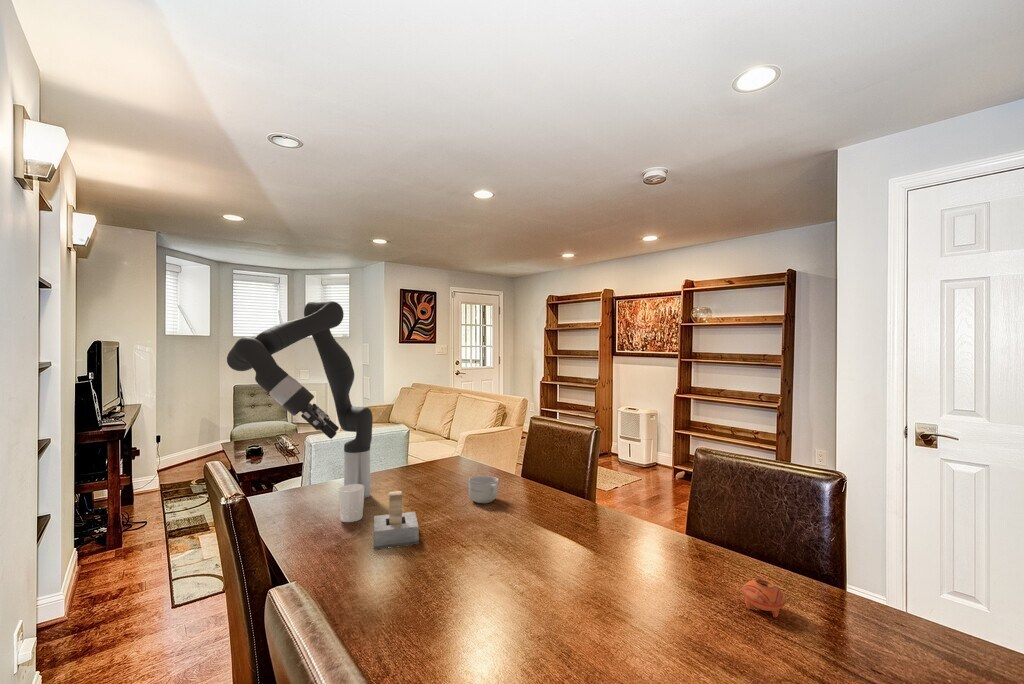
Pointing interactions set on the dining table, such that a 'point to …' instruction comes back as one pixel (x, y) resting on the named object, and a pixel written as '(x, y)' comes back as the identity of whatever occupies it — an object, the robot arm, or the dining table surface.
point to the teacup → (483, 488)
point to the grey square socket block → (395, 531)
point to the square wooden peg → (395, 508)
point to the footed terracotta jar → (763, 595)
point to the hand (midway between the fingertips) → (335, 433)
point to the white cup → (351, 502)
